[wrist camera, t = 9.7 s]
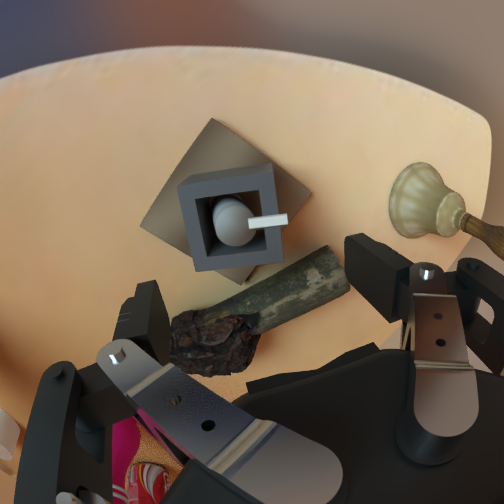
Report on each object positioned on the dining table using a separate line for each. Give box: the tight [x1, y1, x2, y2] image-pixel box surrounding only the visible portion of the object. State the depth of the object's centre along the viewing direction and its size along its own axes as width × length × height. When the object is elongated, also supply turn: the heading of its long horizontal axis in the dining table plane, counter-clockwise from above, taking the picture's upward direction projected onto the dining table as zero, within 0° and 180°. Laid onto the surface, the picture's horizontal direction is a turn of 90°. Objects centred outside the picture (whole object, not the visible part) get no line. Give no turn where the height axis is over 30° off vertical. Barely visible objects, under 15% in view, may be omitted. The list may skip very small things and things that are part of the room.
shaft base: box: [140, 118, 312, 285], centre depth 21 cm, size 10×10×6 cm
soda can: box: [127, 463, 170, 504], centre depth 32 cm, size 7×7×12 cm
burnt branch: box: [170, 245, 350, 378], centre depth 26 cm, size 18×7×6 cm, turn 112°
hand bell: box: [389, 162, 504, 261], centre depth 21 cm, size 8×8×16 cm
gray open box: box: [176, 163, 288, 272], centre depth 21 cm, size 6×6×4 cm
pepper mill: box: [112, 417, 141, 504], centre depth 22 cm, size 7×7×20 cm
